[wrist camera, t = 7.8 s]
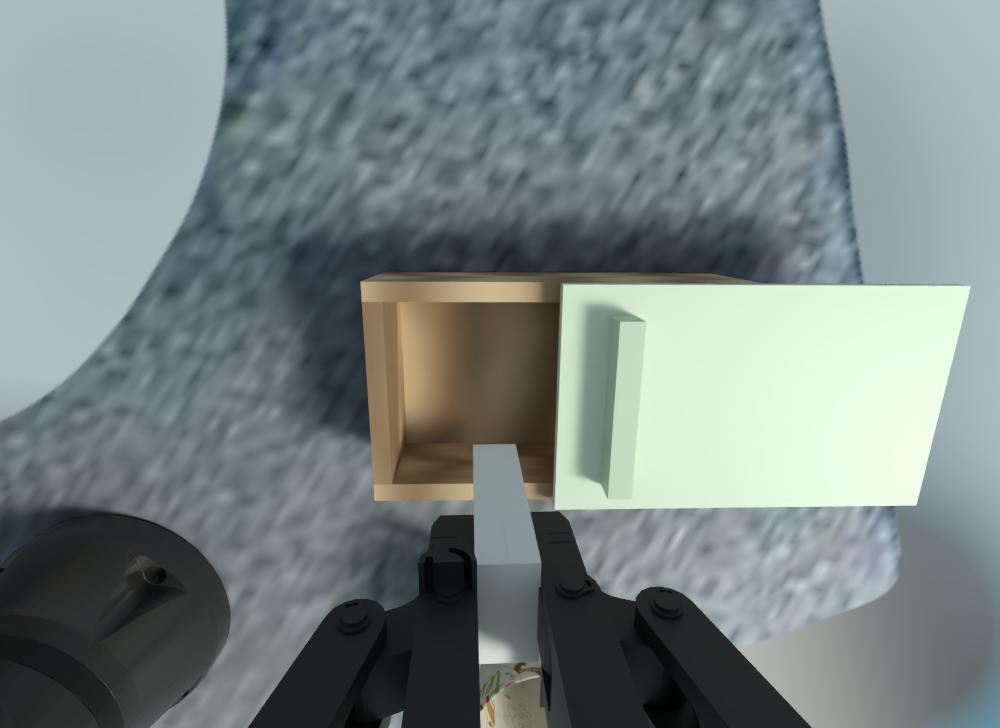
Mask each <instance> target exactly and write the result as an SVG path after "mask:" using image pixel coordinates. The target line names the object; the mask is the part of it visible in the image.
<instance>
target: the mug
mask: <svg viewBox="0 0 1000 728" xmlns="http://www.w3.org/2000/svg"><path fill="white" fill-rule="evenodd" d="M479 681H480V721H481V728H548V726H547V720H546V713H545V707H544V708H540V681H541V659H540V653H538V662H518V663H496V664H481V666H480V672H479Z"/></svg>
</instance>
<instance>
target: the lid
mask: <svg viewBox="0 0 1000 728" xmlns="http://www.w3.org/2000/svg"><path fill="white" fill-rule="evenodd" d="M970 288H971V286H967V285H958V284H756V283H561V290H560V316H559V343H558V369H557V396H556V422H555V449H554V475H553V506H554V510H567V509H650V508H733V507H816V506H899V505H916V504H917V500H918V496H919V492H920V488H921V484H922V480H923V476H924V472H925V468H926V464H927V460H928V456H929V452H930V448H931V444H932V440H933V436H934V432H935V428H936V424H937V420H938V416H939V411H940V408H941V404H942V400H943V395H944V392H945V388H946V384H947V380H948V376H949V372H950V368H951V364H952V359H953V355H954V352H955V348H956V344H957V340H958V335H959V332H960V328H961V324H962V319H963V315H964V312H965V307H966V304H967V300H968V296H969V291H970Z"/></svg>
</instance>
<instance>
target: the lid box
mask: <svg viewBox="0 0 1000 728" xmlns="http://www.w3.org/2000/svg"><path fill="white" fill-rule="evenodd" d="M360 283H361V298H362V314H363V329H364V344H365V360H366V375H367V390H368V406H369V421H370V436H371V452H372V467H373V482H374V497H375V501H419V500H473V445H483V444H516V449H517V453H518V458H519V462H520V467H521V472H522V476H523V481H524V485H525V490H526V495H527V499H553V475H554V449H555V422H556V396H557V369H558V343H559V316H560V290H561V283H756V284H761V283H759V282H754V281H748V280H743V279H738V278H732V277H727V276H721V275H716V274H711V273H656V272H409V271H385V272H383V273H380V274H378V275H375V276H373V277H370V278H368V279H365V280H363V281H361V282H360Z"/></svg>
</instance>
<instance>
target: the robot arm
mask: <svg viewBox="0 0 1000 728" xmlns="http://www.w3.org/2000/svg"><path fill="white" fill-rule="evenodd" d="M473 509H474V515H450V516H440V517H439V518H438V519H437V520H436V522H435V523H434V524H433V525H432V529H431V536H430V544H429V550H428V551H427V552H426V553H424V554H423V555H422V556H421V558H420V560H419V562H418V571H419V595H418V596H417V597H416V598H415V599H414V600H413V601H411V602H409V603H408V604H406V605H403V606H401V607H398V608H395V609H392V610H388V611H384V608H383V607H382V606H381V605H380V604H379V603H378V602H375V601H372V600H369V599H355V600H351V601H348V602H344V603H342V604H341V605H339V606H337V607H335V608H334V609H333V610H332V611H331V612H330V613H329V614H328V615H327V616H326V617H325V618H324V620H323V621H322V622H321V624H320V625H319V627H318V628H317V630H316V631H315V632H314V634H313V635H312V637H311V638H310V640H309V641H308V642H307V644H306V645H305V647H304V648H303V650H302V651H301V652H300V654H299V655H298V657H297V658H296V660H295V661H294V662H293V664H292V665H291V667H290V668H289V670H288V671H287V673H286V674H285V675H284V677H283V678H282V680H281V681H280V683H279V684H278V685H277V687H276V688H275V690H274V691H273V693H272V694H271V695H270V697H269V698H268V700H267V701H266V703H265V704H264V705H263V707H262V708H261V710H260V711H259V713H258V714H257V715H256V717H255V718H254V720H253V721H252V723H251V724H250V725H249V727H248V728H388V726H389V724H390V720H391V715H393V714H396V713H399V712H401V711H404V712H403V719H402V727H401V728H481V721H480V681H479V664H496V663H518V662H538V653H540V659H541V681H540V708H544V707H545V713H546V720H547V726H548V728H811V726H810V725H809V724H808V723H807V722H806V721H805V720H804V719H803V718H802V717H801V716H800V715H799V714H798V713H797V712H796V711H795V710H794V709H793V707H792V706H791V705H790V704H789V703H788V702H787V701H786V700H785V699H784V698H783V697H782V696H781V695H780V694H779V693H778V692H777V691H776V689H775V688H774V687H773V686H772V685H771V684H770V683H769V682H768V681H767V680H766V679H765V678H764V677H763V676H762V675H761V674H760V673H759V672H758V671H757V670H756V668H755V667H754V666H753V665H752V664H751V663H750V662H749V661H748V660H747V659H746V658H745V657H744V656H743V655H742V654H741V652H740V651H739V650H738V649H737V648H736V647H735V646H734V645H733V644H732V643H731V642H730V641H729V640H728V639H727V638H726V637H725V636H724V635H723V633H722V632H721V631H720V630H719V629H718V628H717V627H716V626H715V625H714V624H713V623H712V622H711V621H710V620H709V619H708V618H707V617H706V616H705V614H704V613H703V612H702V611H701V610H700V609H699V608H698V607H697V606H696V605H695V604H694V603H693V602H692V601H691V600H690V599H689V598H687V597H686V596H685V595H684V594H682V593H680V592H677V591H675V590H673V589H670V588H664V587H649V588H647V589H644V590H642V591H641V592H640V593H639V594H638V596H637V597H636V602H635V601H630V600H625V599H620V598H617V597H613V596H610V595H608V594H606V593H604V592H602V591H601V590H600V587H599V586H598V584H597V583H596V581H595V580H594V579H593V578H591V577H590V576H588V575H587V572H586V569H585V566H584V563H583V560H582V558H581V555H580V552H579V549H578V546H577V543H576V540H575V537H574V534H573V531H572V529H571V526H570V523H569V521H568V520H567V519H566V518H565V517H564V516H563V515H562V514H561V513H560V512H559V511H555V512H530V508H529V504H528V499H527V495H526V490H525V485H524V481H523V476H522V472H521V467H520V462H519V458H518V453H517V449H516V444H483V445H473ZM229 628H230V606H229V601H228V597H227V594H226V591H225V589H224V586H223V584H222V582H221V580H220V578H219V576H218V575H217V573H216V572H215V570H214V569H213V567H212V566H211V565H210V564H209V562H208V561H207V560H206V559H205V558H204V557H203V556H202V555H201V554H200V553H199V552H198V551H197V550H196V549H195V548H193V547H192V546H191V545H190V544H188V543H187V542H186V541H184V540H183V539H181V538H180V537H178V536H177V535H175V534H173V533H171V532H169V531H167V530H165V529H163V528H161V527H159V526H156V525H154V524H151V523H148V522H145V521H142V520H138V519H134V518H129V517H122V516H113V515H94V516H85V517H80V518H75V519H71V520H68V521H65V522H62V523H60V524H57V525H55V526H53V527H51V528H49V529H48V530H46V531H44V532H43V533H41V534H40V535H38V536H37V537H36V538H34V539H33V540H31V541H30V542H28V543H27V544H25V545H24V546H22V547H21V548H20V549H18V550H17V551H16V552H14V553H13V554H12V555H11V556H10V557H9V558H7V559H6V560H5V561H4V562H3V563H2V564H1V565H0V728H149V727H150V726H151V725H152V724H154V723H155V722H156V721H157V720H158V719H159V718H160V717H161V716H162V715H163V714H164V713H165V712H166V711H167V710H168V709H170V708H171V707H173V706H175V705H176V704H178V703H179V702H181V701H182V700H183V699H184V698H185V697H187V696H188V695H189V694H190V693H191V692H192V691H193V690H194V689H195V688H196V687H197V686H198V685H199V684H200V682H201V681H202V680H203V679H204V677H205V676H206V675H207V673H208V672H209V670H210V668H211V667H212V665H213V664H214V662H215V660H216V659H217V657H218V656H219V654H220V652H221V651H222V649H223V647H224V645H225V643H226V640H227V637H228V633H229Z"/></svg>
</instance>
